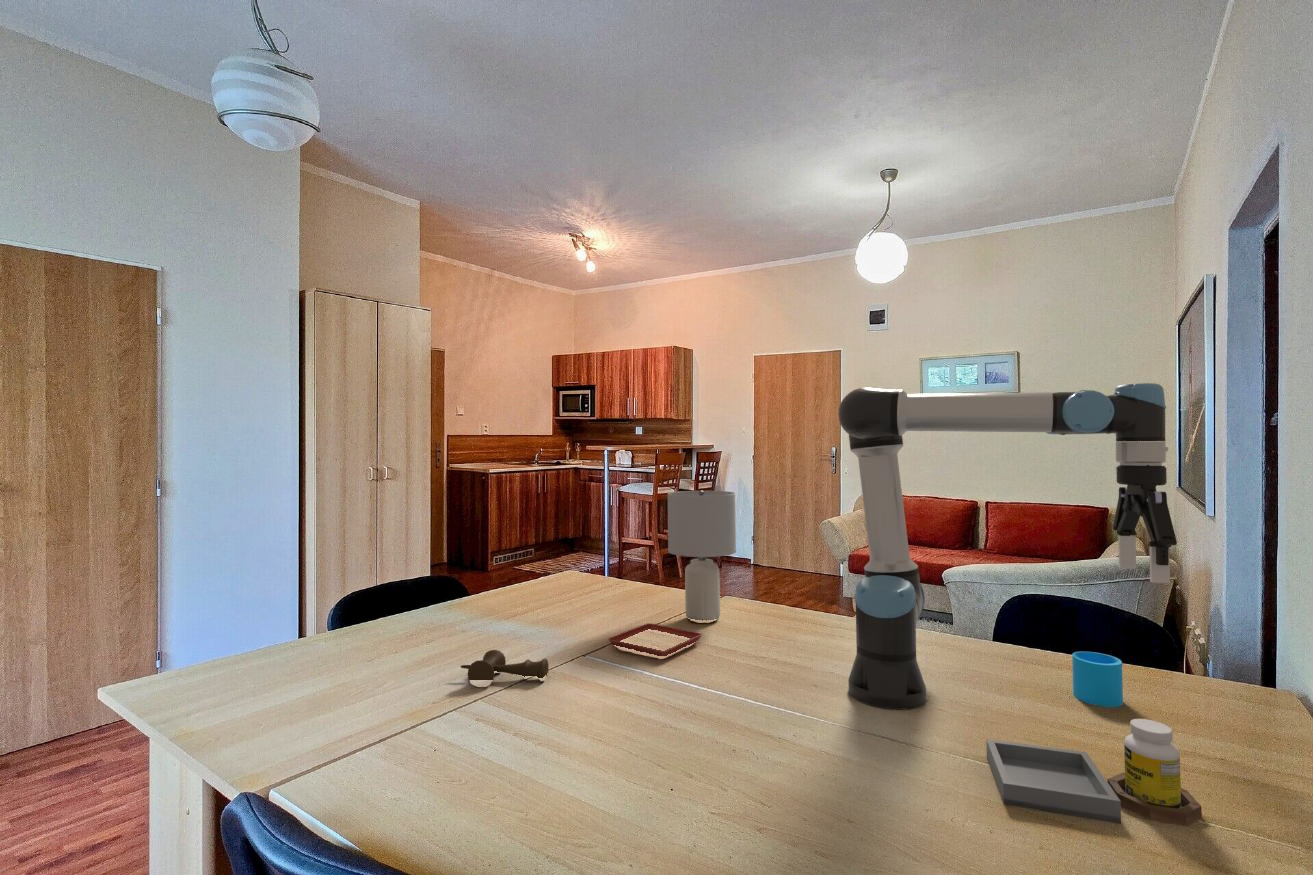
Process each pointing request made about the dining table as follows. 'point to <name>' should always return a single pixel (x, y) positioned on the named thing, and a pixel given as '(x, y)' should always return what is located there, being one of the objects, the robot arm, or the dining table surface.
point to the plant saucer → (679, 632)
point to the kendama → (504, 667)
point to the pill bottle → (1152, 764)
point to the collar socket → (1154, 812)
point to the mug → (1097, 679)
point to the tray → (1052, 780)
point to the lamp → (702, 544)
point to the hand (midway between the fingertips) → (1142, 575)
